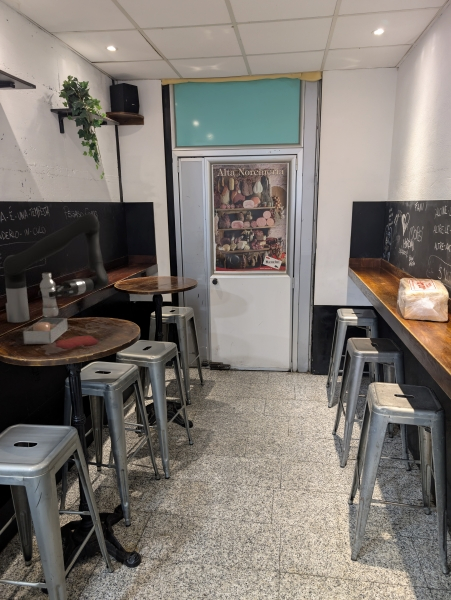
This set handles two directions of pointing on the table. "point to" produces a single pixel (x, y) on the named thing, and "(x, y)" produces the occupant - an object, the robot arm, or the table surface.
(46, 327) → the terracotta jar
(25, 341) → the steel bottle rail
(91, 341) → the red cloth
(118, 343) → the table surface
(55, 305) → the plastic bottle
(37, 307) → the table surface
